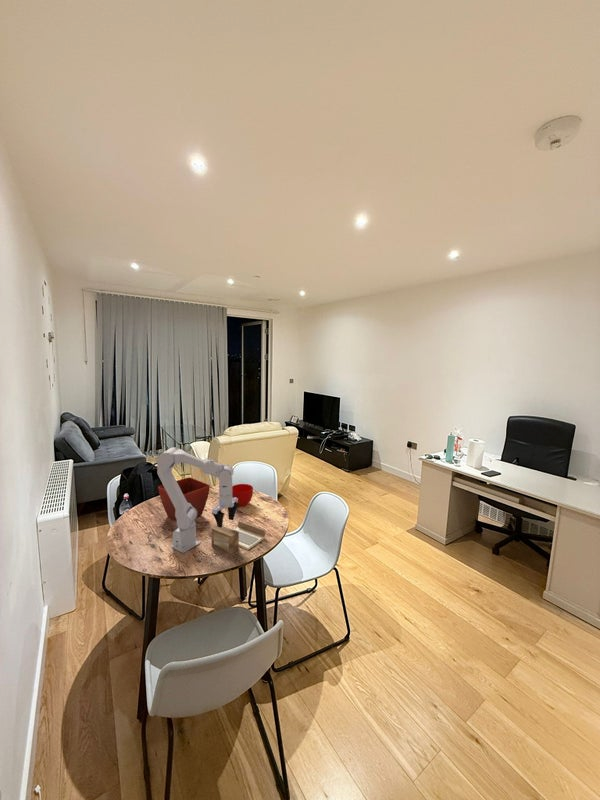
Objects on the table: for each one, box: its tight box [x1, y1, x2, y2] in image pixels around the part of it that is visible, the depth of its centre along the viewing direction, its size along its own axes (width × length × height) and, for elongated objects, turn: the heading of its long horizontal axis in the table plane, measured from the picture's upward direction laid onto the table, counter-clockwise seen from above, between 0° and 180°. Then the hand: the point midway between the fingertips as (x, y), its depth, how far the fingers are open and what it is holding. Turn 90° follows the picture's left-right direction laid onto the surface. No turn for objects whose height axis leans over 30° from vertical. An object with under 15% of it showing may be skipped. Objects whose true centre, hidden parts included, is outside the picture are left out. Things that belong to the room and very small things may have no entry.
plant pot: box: [157, 476, 211, 523], centre depth 169 cm, size 19×19×17 cm
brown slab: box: [211, 525, 240, 555], centre depth 142 cm, size 5×12×8 cm, turn 58°
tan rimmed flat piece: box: [233, 520, 266, 551], centre depth 150 cm, size 12×16×4 cm
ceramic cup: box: [232, 483, 254, 508], centre depth 186 cm, size 13×17×10 cm
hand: (225, 523), depth 143 cm, fingers open, 7 cm apart
